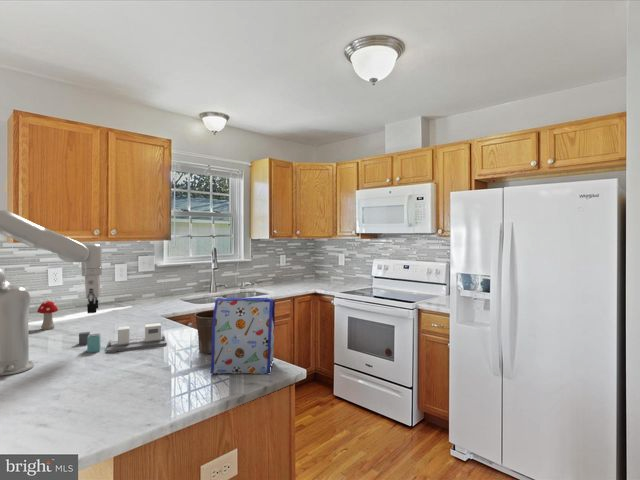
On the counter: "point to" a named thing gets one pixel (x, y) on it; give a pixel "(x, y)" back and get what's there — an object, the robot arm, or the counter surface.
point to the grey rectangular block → (83, 338)
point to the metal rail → (133, 342)
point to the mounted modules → (150, 333)
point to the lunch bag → (243, 335)
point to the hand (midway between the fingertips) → (93, 310)
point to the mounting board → (135, 345)
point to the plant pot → (205, 330)
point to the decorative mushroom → (47, 314)
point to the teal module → (93, 343)
